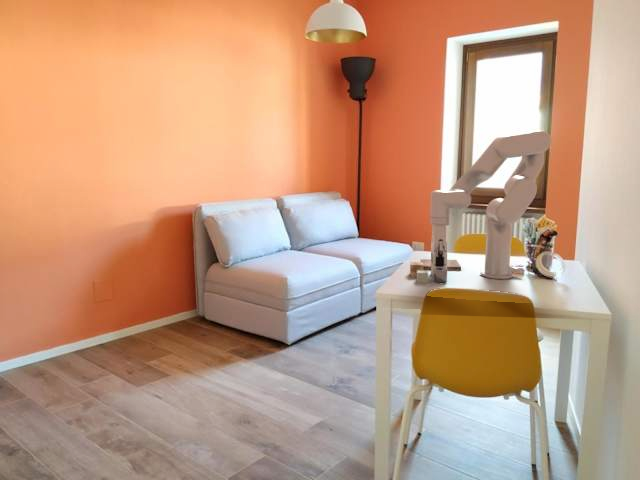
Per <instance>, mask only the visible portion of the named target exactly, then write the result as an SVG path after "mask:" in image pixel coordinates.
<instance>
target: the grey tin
mask: <svg viewBox="0 0 640 480" xmlns="http://www.w3.org/2000/svg"><path fill="white" fill-rule="evenodd" d="M446 282H447V283H448V270H447V269H444V268H435V269H434V277H433V283H435V284H440V283H443V284H447V283H446Z"/></svg>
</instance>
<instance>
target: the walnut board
mask: <svg viewBox="0 0 640 480" xmlns="http://www.w3.org/2000/svg"><path fill="white" fill-rule="evenodd" d="M420 262H423V271H431V258H430V259H429V258H428V259H427V258H426V259H425V258H423V259H420ZM447 271H462V266H461V265H460V263H459V262H458V260H457V259H447Z"/></svg>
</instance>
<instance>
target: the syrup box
mask: <svg viewBox="0 0 640 480" xmlns="http://www.w3.org/2000/svg"><path fill="white" fill-rule="evenodd" d="M430 241H431V242H430V259H431V270H430V274H431V276H432V277H433V278H434V269H435V268H444V269H447V260H448V241H446V249H445V250H444V267H436V257H437V249H435V250H434V249H433V242H432V239H431V240H430ZM438 249H439V248H438ZM438 252H439V251H438Z"/></svg>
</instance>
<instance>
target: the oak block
mask: <svg viewBox="0 0 640 480" xmlns="http://www.w3.org/2000/svg"><path fill="white" fill-rule="evenodd" d="M417 270H418V271H424V270H423V262H421V261H420V262H419V261H418V262H417V261H415V262H414V261H410V263H409V275H410V277H416V278H417Z"/></svg>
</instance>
